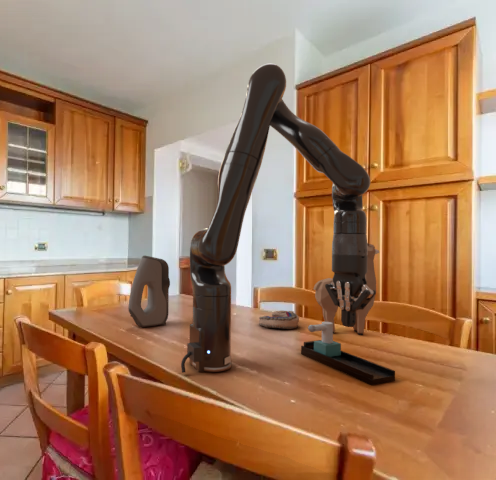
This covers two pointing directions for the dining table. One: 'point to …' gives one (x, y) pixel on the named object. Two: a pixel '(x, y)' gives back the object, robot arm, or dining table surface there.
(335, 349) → the handle
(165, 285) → the brown holed slab
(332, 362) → the rail
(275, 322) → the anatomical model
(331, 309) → the toy
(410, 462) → the dining table surface
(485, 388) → the dining table surface
